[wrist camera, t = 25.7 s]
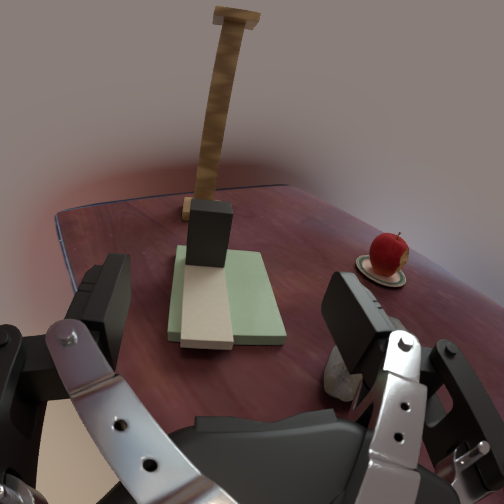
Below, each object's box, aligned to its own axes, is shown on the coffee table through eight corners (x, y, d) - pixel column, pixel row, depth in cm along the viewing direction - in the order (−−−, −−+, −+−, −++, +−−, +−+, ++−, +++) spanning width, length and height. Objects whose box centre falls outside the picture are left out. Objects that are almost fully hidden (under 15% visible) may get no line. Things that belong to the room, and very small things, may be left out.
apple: (399, 267, 43) (414, 230, 40) (408, 295, 36) (428, 254, 33) (353, 253, 44) (367, 214, 41) (356, 280, 37) (373, 236, 34)
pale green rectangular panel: (167, 341, 23) (167, 331, 23) (176, 253, 35) (177, 245, 34) (283, 345, 25) (287, 335, 25) (258, 260, 37) (260, 252, 37)
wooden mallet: (180, 347, 21) (183, 272, 18) (185, 257, 32) (191, 197, 29) (232, 350, 22) (247, 276, 19) (221, 260, 33) (230, 202, 30)
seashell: (368, 443, 17) (404, 408, 15) (291, 379, 22) (310, 336, 20) (422, 365, 25) (448, 329, 22) (362, 323, 30) (381, 285, 27)
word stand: (181, 220, 43) (215, 5, 28) (184, 205, 48) (214, 15, 33) (221, 224, 44) (260, 12, 29) (219, 208, 50) (254, 22, 34)
